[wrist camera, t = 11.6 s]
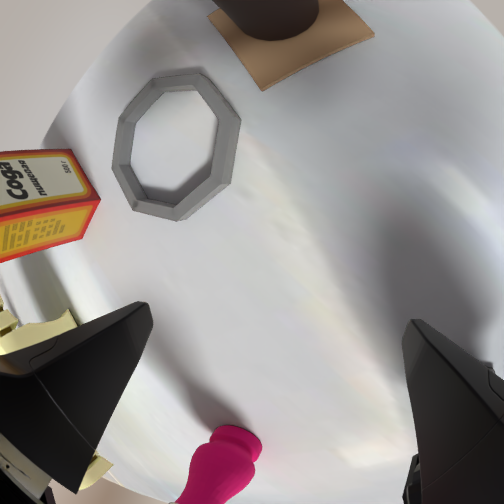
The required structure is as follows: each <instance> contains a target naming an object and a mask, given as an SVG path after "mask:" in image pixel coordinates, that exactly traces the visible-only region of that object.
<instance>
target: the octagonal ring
mask: <svg viewBox="0 0 504 504" xmlns="http://www.w3.org/2000/svg"><path fill="white" fill-rule="evenodd" d="M191 90H197V91H198V92H199V94H200V95H201V96H202V98H203V99H204V100H205V102H206V103H207V104H208V106H209V107H210V108H211V110H212V111H213V113H214V114H215V115H216V117H217V118H218V119H219V126H218V132H217V137H216V143H215V149H214V156H213V162H212V168H211V175H210V177H209V178H207V179H206V180H205V181H204V182H203V183H201V184H200V185H199V186H198V187H197V188H196V189H194V190H193V191H192V192H191V193H190V194H189V195H188V196H186V197H185V198H184V199H183V200H182V201H181V202H180V203H179V204H177V205H175V204H170V203H166V202H161V201H156V200H151V199H148V198H147V196H146V195H145V193H144V191H143V189H142V187H141V185H140V183H139V182H138V180H137V178H136V176H135V174H134V172H133V170H132V168H131V166H130V158H131V150H132V143H133V137H134V131H135V125H136V122H137V121H138V120H139V119H140V118H141V116H142V115H143V114H144V113H145V112H146V111H147V110H148V109H149V108H150V107H151V105H152V104H153V103H154V102H155V101H156V100H157V99H158V98H159V97H160V96H161V95H162V94H163V93H164V92H174V91H191ZM240 125H241V119H240V118H239V117H238V115H237V114H236V113H235V111H234V110H233V109H232V107H231V106H230V105H229V104H228V102H227V101H226V100H225V98H224V97H223V96H222V95H221V93H220V92H219V91H218V90H217V88H216V87H215V86H214V85H213V83H212V82H211V81H210V80H209V79H208V78H207V77H205V76H203V75H202V74H189V75H178V76H169V77H161V78H154V79H152V80H151V81H150V82H149V83H148V84H147V85H146V86H145V87H144V88H143V89H142V91H141V92H140V93H139V94H138V95H137V96H136V97H135V99H134V100H133V101H132V102H131V103H130V104H129V106H128V107H127V108H126V109H125V110H124V112H123V113H122V114H121V115H120V117H119V119H118V125H117V131H116V137H115V144H114V152H113V160H112V171H113V173H114V175H115V177H116V179H117V181H118V183H119V185H120V187H121V189H122V191H123V193H124V195H125V197H126V199H127V201H128V203H129V204H130V206H131V208H132V210H133V211H136V212H140V213H144V214H148V215H152V216H156V217H160V218H164V219H168V220H172V221H176V222H177V221H181V220H185V219H187V218H189V217H190V216H191V215H192V214H193V213H195V212H196V211H197V210H198V209H199V208H201V207H202V206H203V205H204V204H206V203H207V202H208V201H209V200H211V199H212V198H213V197H214V196H216V195H217V194H218V193H219V192H221V191H222V190H223V189H224V188H226V187H227V186H228V185H229V184H231V178H232V172H233V166H234V159H235V153H236V148H237V142H238V136H239V130H240Z"/></svg>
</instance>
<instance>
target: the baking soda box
mask: <svg viewBox="0 0 504 504" xmlns="http://www.w3.org/2000/svg"><path fill="white" fill-rule="evenodd" d="M100 201H101V199H100V197H99V196H98V194H97V193H96V191H95V189H94V188H93V186H92V185H91V183H90V181H89V180H88V178H87V176H86V175H85V173H84V171H83V170H82V168H81V166H80V164H79V163H78V161H77V159H76V158H75V156H74V154H73V152H72V150H71V149H39V150H17V151H3V152H0V263H2V262H5V261H8V260H12V259H15V258H18V257H21V256H24V255H27V254H31V253H34V252H37V251H41V250H44V249H48V248H51V247H54V246H58V245H62V244H65V243H69V242H72V241H76V240H80V239H82V238H83V236H84V234H85V231H86V229H87V227H88V225H89V223H90V221H91V219H92V217H93V215H94V212H95V210H96V208H97V206H98V205H99V203H100Z"/></svg>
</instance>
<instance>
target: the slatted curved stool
mask: <svg viewBox="0 0 504 504" xmlns="http://www.w3.org/2000/svg"><path fill="white" fill-rule="evenodd" d="M3 304H4V302H3V300H2V298H1V295H0V355H4V354H8V353H10V352H13V351H16V350H19V349H22V348H25V347H28V346H31V345H34V344H37V343H39V342H42V341H44V340H47V339H49V338H52V337H54V336H57V335H60V334H61V333H64V332H66V331H68V330H71V329H73V328H76V327H78V326H77V324H76V322H75V321H74V319H73V317H72V315H71V313H70V311H69V309H67V310H66V311H65V312H64V313H63V314H62V316H61V317H60V318H59V319H57V320H54V321H50V322H44V323H28V324H26V325H24V326H22V327H20V328H18V329H15V328H16V326H17V323H18V319H16V318H15V317H14V316H13V315H12V314H11V313H10V312H9V311H8V309H7V310H3ZM14 329H15V330H14ZM12 330H13V331H12ZM96 453H97V452H96V451H95V453H94V455H93V457H92V460H91V462H90V464H89V466H88V469H87V471H86V473H85V476H84V478H83V481H82V483H81V485H80V488H79V490H82V489H85V488H87V487H89V486H91V485H92V484H94V483H95V482H96V481H97V480H98V479H100V478H101V477H102V476H103V475H104V474H105V473H106V472H107V471H108V470H109V469H110V468H111V467H112V466H113V465H114V464H112V463H110V462H109V461H107V460H106V459H105V458H103V457H101V456H98V455H96Z"/></svg>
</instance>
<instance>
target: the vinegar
mask: <svg viewBox="0 0 504 504" xmlns="http://www.w3.org/2000/svg"><path fill="white" fill-rule="evenodd" d="M212 1H213V2H214V3H216V4H217V5H218V6H219V7H220V8H221V9H222V10H223V11H224V12H225V13H226V14H227V16H228V17H229V18H230V19H231V20H232V21H233V22H234V23H235V24H236V25H237V26H238V27H239V28H240V29H241V30H242V31H243V32H244V33H245V34H247V35H249V36H251V37H253V38H255V39H259V40H265V41H277V40H285V39H288V38H292V37H295V36H297V35H299V34H301V33H302V32H304V31H306V30H308V28H309V27H310V26H311V25H312V24H313V23H314V22H315V21H316V18H317V16H318V14H319V2H318V0H212Z"/></svg>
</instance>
